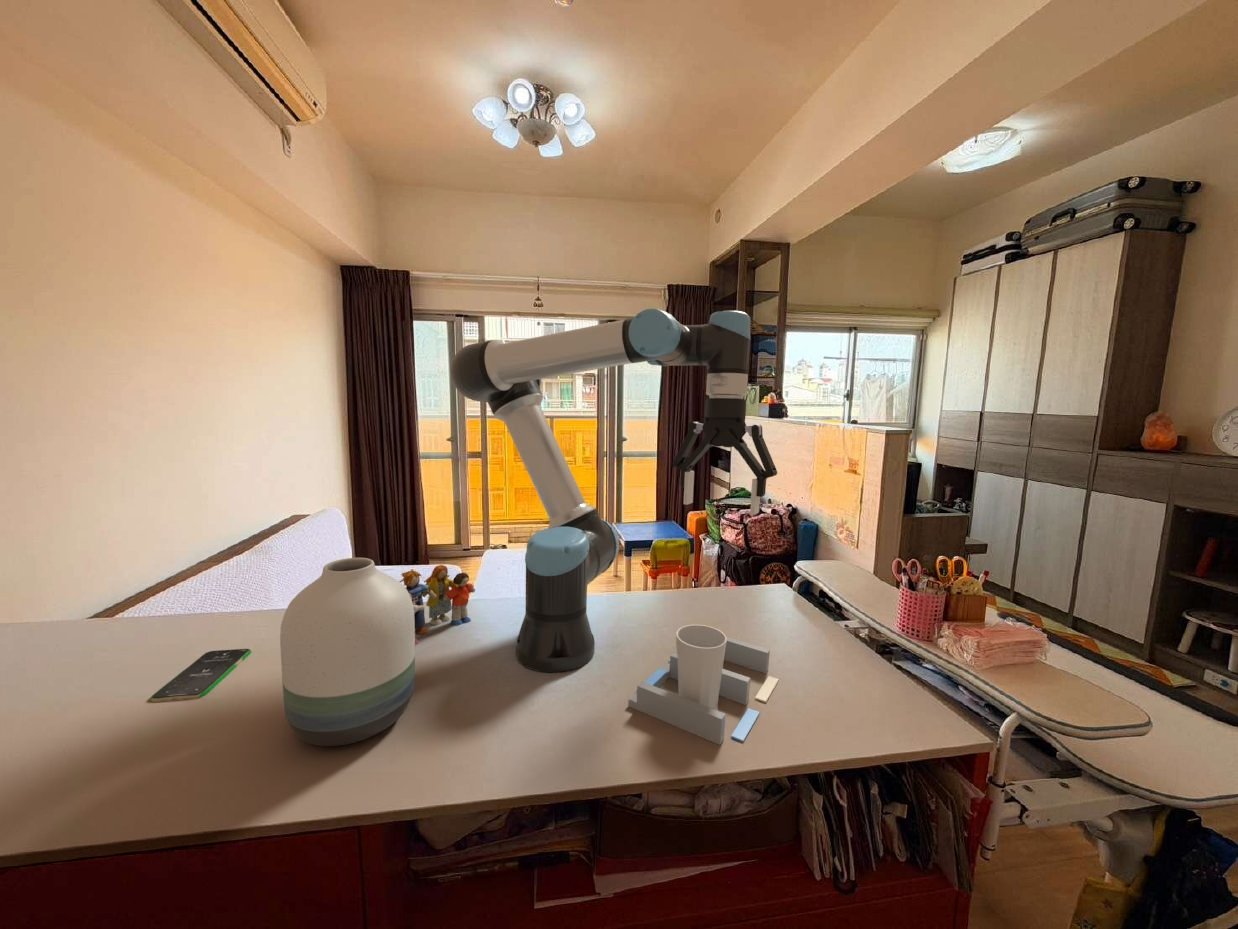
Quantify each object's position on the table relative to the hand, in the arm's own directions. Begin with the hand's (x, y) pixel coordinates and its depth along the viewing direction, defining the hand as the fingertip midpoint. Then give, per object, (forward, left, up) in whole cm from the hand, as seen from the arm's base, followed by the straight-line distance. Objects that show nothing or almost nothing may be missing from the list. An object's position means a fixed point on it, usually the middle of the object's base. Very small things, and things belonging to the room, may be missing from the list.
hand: (720, 508), depth 93 cm
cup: (+5, -19, -29) cm, 35 cm away
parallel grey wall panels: (+5, -13, -29) cm, 32 cm away
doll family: (-52, -28, -29) cm, 66 cm away
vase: (-35, -52, -29) cm, 69 cm away
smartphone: (-67, -60, -29) cm, 95 cm away
